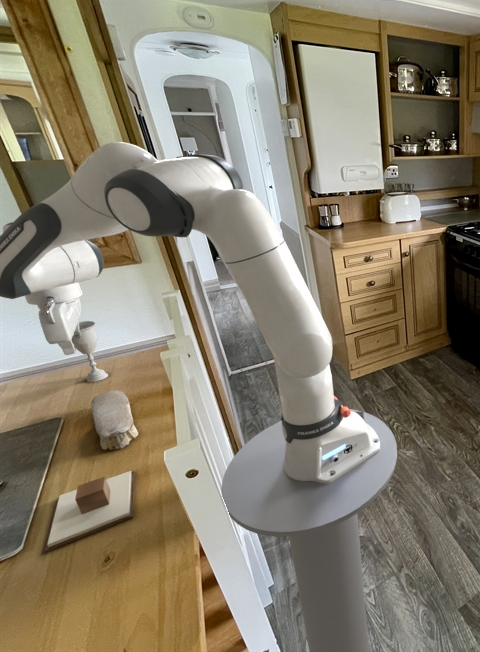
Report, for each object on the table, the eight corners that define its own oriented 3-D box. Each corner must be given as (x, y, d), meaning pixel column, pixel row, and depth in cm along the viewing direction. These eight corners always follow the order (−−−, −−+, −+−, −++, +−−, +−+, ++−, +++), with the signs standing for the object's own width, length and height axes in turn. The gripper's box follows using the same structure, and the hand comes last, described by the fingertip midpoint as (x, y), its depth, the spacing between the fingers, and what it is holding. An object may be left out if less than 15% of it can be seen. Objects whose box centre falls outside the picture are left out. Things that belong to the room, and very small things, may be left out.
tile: (134, 472, 85) (133, 468, 84) (133, 517, 75) (131, 512, 74) (59, 499, 78) (56, 494, 77) (45, 552, 67) (43, 547, 67)
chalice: (76, 380, 117) (56, 328, 110) (102, 370, 123) (84, 319, 116) (92, 385, 115) (72, 332, 108) (117, 374, 121) (100, 323, 114)
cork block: (110, 491, 79) (104, 476, 77) (109, 504, 76) (103, 489, 74) (84, 500, 76) (77, 485, 75) (81, 514, 73) (75, 499, 72)
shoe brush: (143, 440, 94) (138, 424, 92) (103, 456, 89) (96, 439, 87) (128, 399, 109) (123, 384, 107) (93, 410, 104) (87, 395, 102)
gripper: (65, 302, 80) (86, 359, 85) (78, 277, 94) (95, 327, 99) (21, 308, 76) (46, 367, 81) (42, 281, 91) (61, 333, 96)
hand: (73, 345), depth 90 cm, fingers open, 8 cm apart
